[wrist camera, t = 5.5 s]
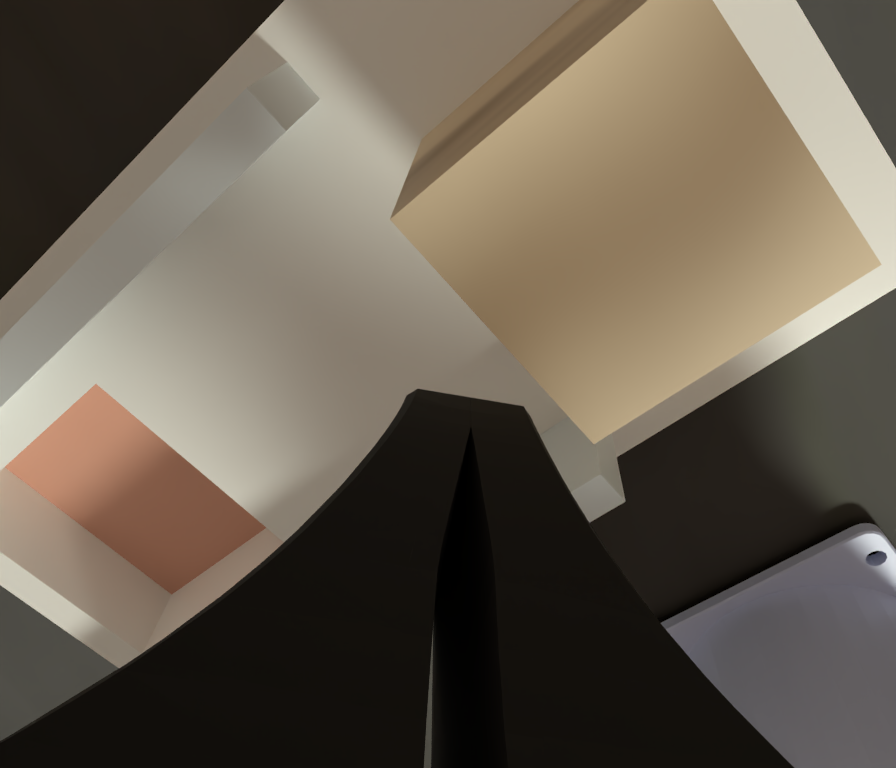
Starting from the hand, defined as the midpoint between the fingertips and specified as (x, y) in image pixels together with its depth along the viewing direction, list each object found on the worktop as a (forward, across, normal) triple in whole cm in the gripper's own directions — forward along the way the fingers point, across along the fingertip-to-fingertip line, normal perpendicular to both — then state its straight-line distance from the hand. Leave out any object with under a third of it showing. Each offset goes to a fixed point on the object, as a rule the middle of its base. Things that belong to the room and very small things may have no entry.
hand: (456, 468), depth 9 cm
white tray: (+9, +3, +3) cm, 10 cm away
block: (+7, -2, -2) cm, 7 cm away
